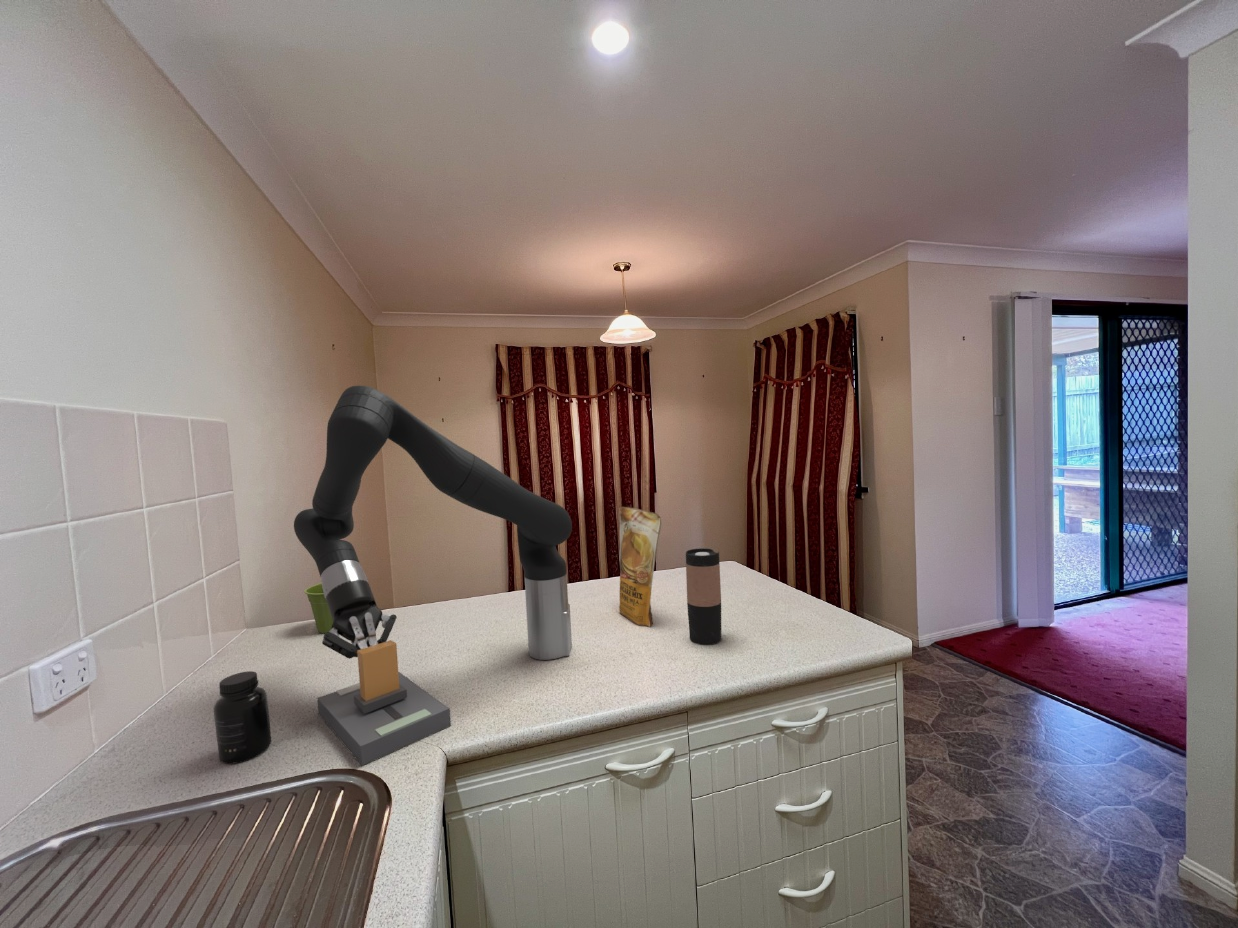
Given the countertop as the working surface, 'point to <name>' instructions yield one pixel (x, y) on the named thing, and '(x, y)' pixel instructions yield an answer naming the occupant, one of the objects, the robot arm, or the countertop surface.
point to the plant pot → (319, 608)
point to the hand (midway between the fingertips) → (375, 672)
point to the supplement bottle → (241, 718)
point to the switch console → (383, 720)
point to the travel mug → (703, 596)
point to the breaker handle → (378, 677)
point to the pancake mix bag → (637, 562)
